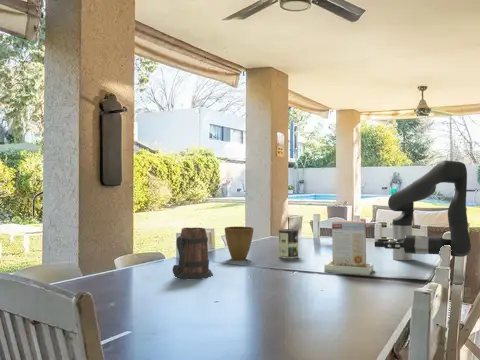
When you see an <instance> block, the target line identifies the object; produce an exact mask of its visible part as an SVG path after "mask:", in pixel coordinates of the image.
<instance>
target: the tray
mask: <svg viewBox="0 0 480 360" xmlns="http://www.w3.org/2000/svg"><path fill="white" fill-rule="evenodd" d="M323 265H324V273H336V274H347V275H348V274H349V275H359V274H360V275H361V276H370V275H371V274H372V273H373V272H374V263H370V262H369V263H367V262H366V267H353V266H339V265H333V260H330V261H328V262H326V263H325V264H323ZM372 271H373V272H372ZM371 272H372V273H371ZM360 275H359V276H360Z"/></svg>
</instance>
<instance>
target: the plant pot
mask: <svg viewBox="0 0 480 360" xmlns="http://www.w3.org/2000/svg"><path fill="white" fill-rule="evenodd" d="M253 234H254V227H252V226H225V227H224V235H225V240H226V245H227V248H228V252H229V254H230V258H231V260H233V259H234V261H244V259H245V260H246V259H248V258H247V257H248V255H249V252H250V248H251V246H252V240H253Z"/></svg>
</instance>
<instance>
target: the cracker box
mask: <svg viewBox="0 0 480 360" xmlns="http://www.w3.org/2000/svg"><path fill="white" fill-rule="evenodd" d="M331 222H332V223H331V228H332V229H331V231H332V232H331V234H332V235H331V236H332V238H331V239H332V241H331V243H332V246H331V247H332V253H331V254H332V261H333V265H339V266H353V267H366V263H367V243H366V242H367V238H366V237H367V235H366V234H367V233H366V232H367V230H366V220H365V221H364V220H363V221H361V220H358V221H355V220H334V221H331Z"/></svg>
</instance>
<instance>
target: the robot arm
mask: <svg viewBox="0 0 480 360" xmlns="http://www.w3.org/2000/svg"><path fill="white" fill-rule="evenodd" d="M467 170H468V169H467V167H466V164H465V163H464V162H462V161H458V160H457V161H456V160H455V161H454V160H442V161H439V162H438V163H437V164H435V166H433V167H432V168H431V169H430V170H429V171H428V172H426V173H425V174H424V175H422V176H420V177H419V178H417V179H416V180H414V181H412V182H411V183H409V184H408V185H407V186H406V187H404V188H402V189H401V190H398V191H396V192H394V193H392V194H391V195H390V196H389V198H388V202H387V204H388V208H389V209H390V210H391V211H393V212H401V213H400V215H399V216H398V217H395V218H393V219H392V238H385V239H384V238H378V239H377V241H374V247H375V248H376V247H377V248H384V249H385V250H386V249H387V250H389V249H391V250H392V259H393V260H395V261H405V262H406V261H413V255H440V254H439V251H440V248H441V247H442V246H444V245H450V246H451V250H452V251H451V257H456V258H457V257H458V258H459V257H460V258H461V257H462V258H463V257H466V256H468V255H469V254H470V253H471V249H472V244H471V238H470V233H469V221H468V215H467V214H468V213H467V186H468V185H467V184H468V171H467ZM440 183H442V184H443V183H446V184H453V185H454V195H453V197H452V200H451V202H450V204H449V206H448V209H447V221H448V228H449V231H450V233H449V234H450V239H447V238H444V237H441V236H440V237H439V236H426V235H413V221H414V209H415V208H414V204H415V202H419V201H422V200H425V199H427V198H430V197H431V196H432V195H433V194H434V193H435V192H436V189H437V185H439V184H440Z"/></svg>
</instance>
